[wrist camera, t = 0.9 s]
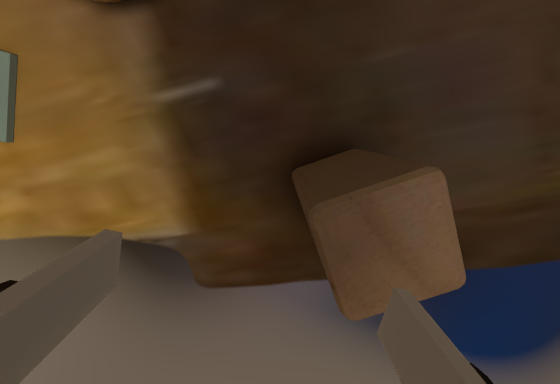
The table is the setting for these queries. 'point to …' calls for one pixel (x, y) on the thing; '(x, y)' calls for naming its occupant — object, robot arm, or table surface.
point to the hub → (7, 95)
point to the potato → (107, 1)
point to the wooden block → (380, 228)
